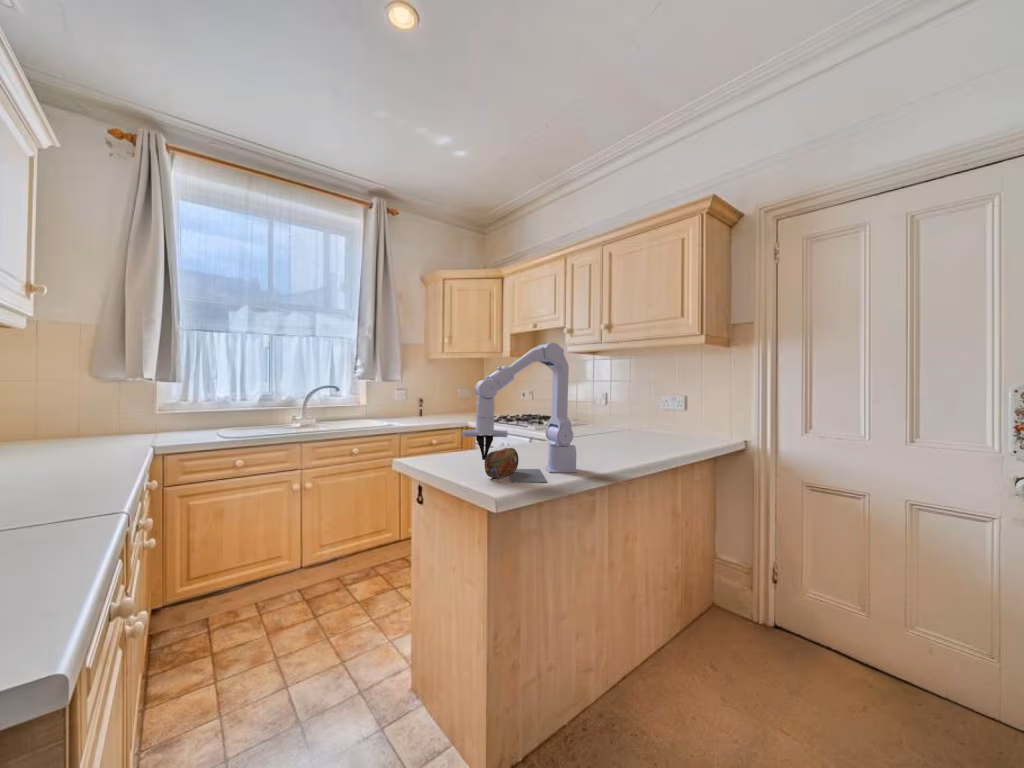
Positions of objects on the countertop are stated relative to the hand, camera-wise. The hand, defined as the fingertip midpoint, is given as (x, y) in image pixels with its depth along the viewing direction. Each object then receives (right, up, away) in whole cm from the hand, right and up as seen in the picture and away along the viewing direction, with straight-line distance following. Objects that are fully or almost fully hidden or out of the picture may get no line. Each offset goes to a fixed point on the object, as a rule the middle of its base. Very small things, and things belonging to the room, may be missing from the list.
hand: (484, 459), depth 133 cm
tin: (+6, -6, +1) cm, 8 cm away
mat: (+14, -6, +1) cm, 15 cm away
